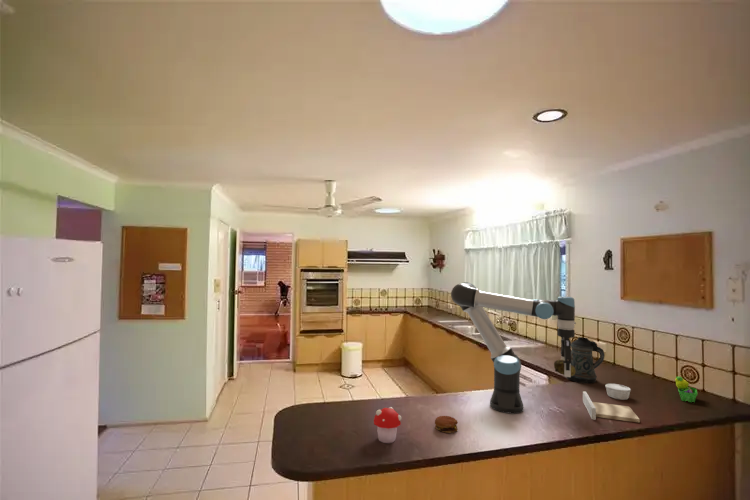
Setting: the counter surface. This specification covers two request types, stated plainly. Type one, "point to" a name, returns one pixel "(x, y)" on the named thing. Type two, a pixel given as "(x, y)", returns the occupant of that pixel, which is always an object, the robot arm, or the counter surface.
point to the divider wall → (589, 405)
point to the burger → (446, 424)
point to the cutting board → (615, 412)
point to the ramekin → (618, 391)
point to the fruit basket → (685, 390)
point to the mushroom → (387, 424)
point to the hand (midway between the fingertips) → (565, 373)
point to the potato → (562, 367)
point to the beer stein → (584, 360)
